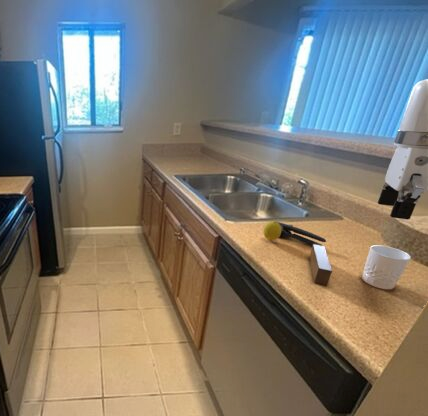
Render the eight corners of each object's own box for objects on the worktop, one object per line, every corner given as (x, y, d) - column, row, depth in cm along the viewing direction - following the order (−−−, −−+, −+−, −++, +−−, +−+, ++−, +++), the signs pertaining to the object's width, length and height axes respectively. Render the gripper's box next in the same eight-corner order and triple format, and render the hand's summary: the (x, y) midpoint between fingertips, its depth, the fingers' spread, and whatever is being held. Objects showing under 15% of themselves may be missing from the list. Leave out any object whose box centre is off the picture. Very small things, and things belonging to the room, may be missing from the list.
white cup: (399, 295, 73) (414, 263, 70) (360, 284, 78) (372, 253, 74) (394, 280, 79) (407, 250, 76) (357, 271, 84) (368, 242, 80)
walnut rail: (320, 259, 90) (324, 246, 88) (327, 286, 77) (332, 271, 76) (309, 257, 92) (313, 244, 90) (314, 282, 79) (318, 268, 77)
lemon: (268, 236, 106) (272, 217, 103) (282, 242, 101) (287, 222, 98) (258, 239, 104) (262, 219, 101) (271, 245, 99) (276, 225, 96)
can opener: (265, 234, 107) (268, 221, 105) (273, 229, 111) (276, 217, 109) (320, 252, 94) (324, 237, 92) (326, 245, 98) (331, 231, 96)
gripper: (466, 145, 52) (430, 227, 58) (426, 135, 66) (400, 202, 72) (410, 144, 56) (382, 220, 62) (384, 134, 69) (362, 198, 76)
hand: (392, 211), depth 67 cm, fingers open, 9 cm apart
